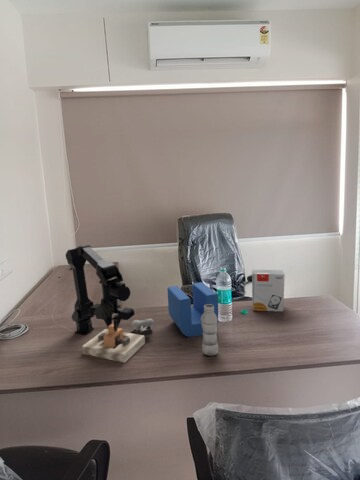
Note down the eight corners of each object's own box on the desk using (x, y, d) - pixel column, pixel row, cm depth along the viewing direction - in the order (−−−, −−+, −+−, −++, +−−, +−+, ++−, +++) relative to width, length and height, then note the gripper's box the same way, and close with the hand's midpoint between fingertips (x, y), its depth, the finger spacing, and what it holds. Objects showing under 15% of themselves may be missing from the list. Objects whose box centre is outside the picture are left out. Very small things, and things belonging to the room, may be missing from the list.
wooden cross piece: (104, 346, 137) (102, 328, 135) (115, 337, 144) (114, 320, 143) (112, 347, 135) (111, 330, 134) (123, 338, 143) (121, 321, 141)
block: (203, 316, 168) (202, 281, 164) (218, 331, 151) (217, 293, 148) (169, 322, 163) (167, 287, 159) (181, 339, 146) (179, 300, 142)
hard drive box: (252, 311, 171) (252, 273, 167) (251, 305, 179) (251, 269, 175) (284, 311, 169) (284, 273, 165) (282, 306, 176) (282, 269, 172)
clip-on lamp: (114, 346, 148) (153, 337, 146) (109, 334, 146) (149, 325, 145) (119, 331, 159) (156, 323, 158) (115, 320, 158) (152, 311, 156)
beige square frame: (83, 353, 137) (81, 341, 136) (106, 336, 151) (105, 325, 150) (124, 362, 129) (123, 350, 128) (145, 343, 144) (144, 331, 142)
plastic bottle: (214, 359, 129) (213, 310, 125) (198, 355, 132) (197, 307, 128) (221, 351, 134) (220, 304, 130) (206, 347, 137) (205, 301, 134)
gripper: (78, 299, 132) (82, 336, 135) (118, 305, 125) (121, 343, 128) (95, 290, 142) (99, 324, 145) (133, 294, 135) (136, 330, 138)
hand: (113, 330), depth 139 cm, fingers closed on wooden cross piece, 2 cm apart
